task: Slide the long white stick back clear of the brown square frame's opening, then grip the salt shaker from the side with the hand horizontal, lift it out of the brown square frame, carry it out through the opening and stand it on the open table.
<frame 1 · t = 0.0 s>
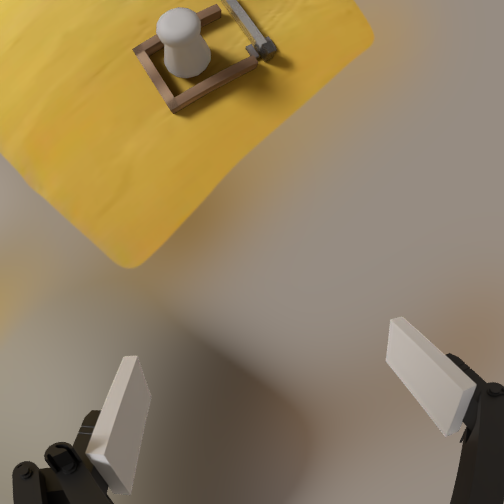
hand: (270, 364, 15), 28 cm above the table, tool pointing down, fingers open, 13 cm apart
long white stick: (247, 22, 33), point 2 cm above the table, slide at 0.0 cm
brown square frame: (188, 62, 35), on the table
salt shaker: (189, 63, 36), resting in brown square frame
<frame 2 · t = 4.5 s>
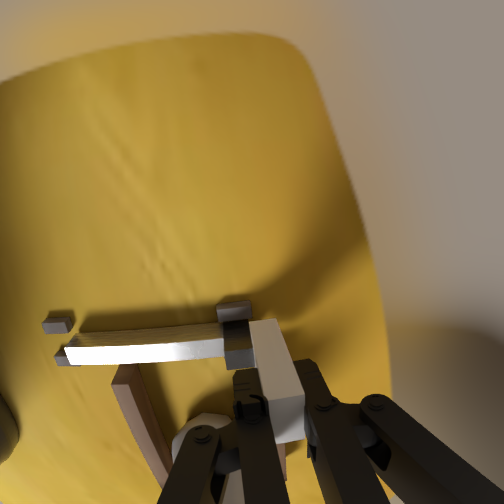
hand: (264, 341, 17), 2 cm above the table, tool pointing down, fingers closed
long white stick: (152, 350, 17), point 2 cm above the table, slide at 1.3 cm, touching gripper
brown square frame: (211, 430, 22), on the table
salt shaker: (211, 428, 22), resting in brown square frame
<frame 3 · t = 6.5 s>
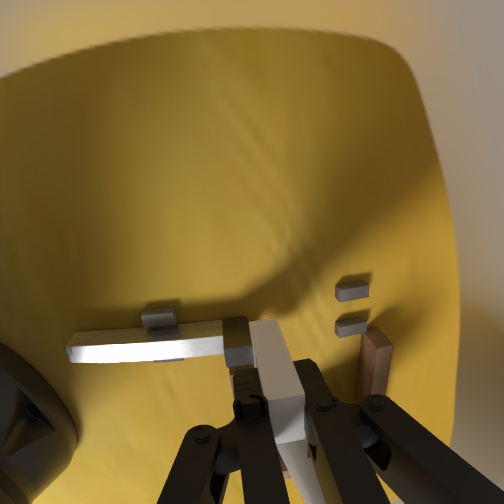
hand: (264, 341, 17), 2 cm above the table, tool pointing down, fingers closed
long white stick: (152, 348, 17), point 2 cm above the table, slide at 8.7 cm
brown square frame: (307, 414, 22), on the table
salt shaker: (306, 412, 23), resting in brown square frame
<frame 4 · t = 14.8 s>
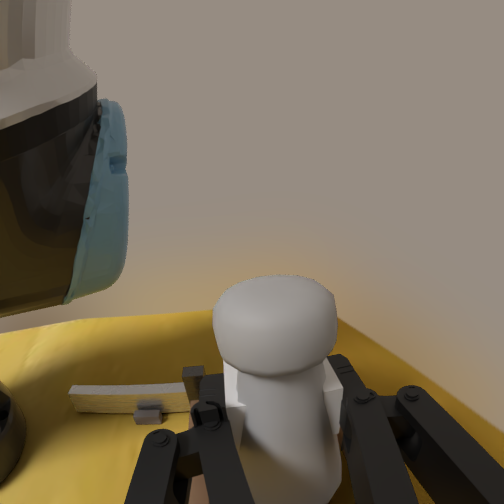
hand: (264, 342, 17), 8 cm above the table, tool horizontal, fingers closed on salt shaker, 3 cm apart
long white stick: (133, 392, 21), point 2 cm above the table, slide at 9.2 cm
brown square frame: (286, 493, 14), on the table
salt shaker: (287, 495, 14), resting in brown square frame, touching gripper
when the fingers open (9 cm above the table, at t = 20.1 s): salt shaker stays where it is, on the table.
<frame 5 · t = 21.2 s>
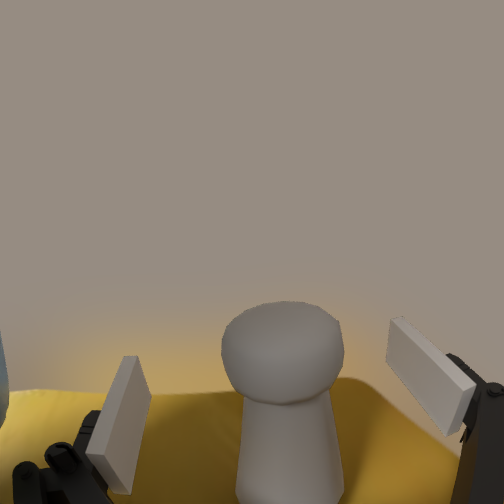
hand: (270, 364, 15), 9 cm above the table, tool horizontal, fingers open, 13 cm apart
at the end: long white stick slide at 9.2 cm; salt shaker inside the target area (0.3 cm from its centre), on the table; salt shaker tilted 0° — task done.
